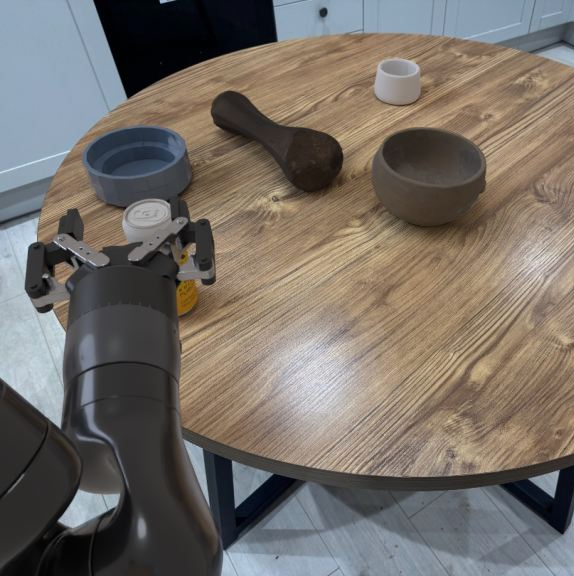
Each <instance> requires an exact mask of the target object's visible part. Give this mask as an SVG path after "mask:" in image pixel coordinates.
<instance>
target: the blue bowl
mask: <svg viewBox="0 0 574 576" xmlns="http://www.w3.org/2000/svg"><path fill="white" fill-rule="evenodd" d="M81 164H82V166H83V168H84V169H83V170H84V172H85V174H86V177H87V179H88V182H89V185H90V188H91V190H92V192H93V193H94V194H95V195H96V197H97V198H98V199H100V200H101V201H103V202H105V203H106V204H109V205H113V206H117V207H122V208H123V207H124V208H128V207H129V206H130V205H132V204H133V203H136V202H138V201H141V200H145V199H160V200H164V201H168V200H170V196H174V195H179V194H181V193H182V192H183V191H184V190H185V189H186V188H187V187H188V186H189V185H190V183H191V181H192V177H193V170H192V167H191V162H190V157H189V152H188V148H187V143H186V140H185V138H183V136H182V135H181V134H179V132H177V131H175V130H173V129H170V128H168V127H165V126H164V127H163V126H159V125H148V124H147V125H146V124H145V125H143V124H140V125H131V126H124V127H120V128H116V129H112V130H110V131H108V132H105V133H103V134H101V135H98V136H97V137H95V138H94V139H93V140H92V141H91V142H89V143H88V144H87V145H86V146H85V148H84V150H83V151H82V153H81Z"/></svg>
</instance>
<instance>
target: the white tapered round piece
mask: <svg viewBox="0 0 574 576" xmlns="http://www.w3.org/2000/svg"><path fill="white" fill-rule="evenodd" d="M373 89H374V90H373V91H374V95H375V96H376V98H377V99H378V100H380V101H381V102H383V103H385V104H389V105H395V106H402V105H403V106H405V105H409V104H413V103H414V102H416V101H417V100H418V99H419V98H420V96H421V91H422V90H421V89H422V87H421V68H420V66H419V65H418V63H416V62H414V61H413V60H409V59H406V58H389V59H385V60H383V61H381V62H379V63H378V65H377V69H376V75H375V81H374V88H373Z"/></svg>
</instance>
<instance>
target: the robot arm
mask: <svg viewBox="0 0 574 576" xmlns="http://www.w3.org/2000/svg"><path fill="white" fill-rule="evenodd" d="M169 204H170V210H171V220H172V223H171V224H169V225H168V226H167V227H166V228H165V229H164V230H162V229H158V230H157V231H156V232H155V233H154V234H153V235H152V236H151V237H150V238H149V239H148V240H147V241H146V242H144V243H143V241H141V242H134V243H130V244H128V243H126V244H123V245H107V246H102V249H101V250H96V249H94V248H93V247H92V246H90V245H89V244H87V243H86V242H84V234H85V233H84V232H85V224H84V221H83V218H82V216H81V214H80V211H79V209H78V208H77V207H75V208H69V209H68V208H67V210H66V214H65V215H62V216H61V217H60V218H59V221H58V228H57V233H56V235H55V236H54V237H53V239H52V241H50V242H48V243H44V242H43V241H35V242H33V243H30V244H29V245H28V247H27V255H26V264H25V265H26V266H25V278H24V288H23V289H24V291H25V292H26V295H27V296H28V298H29V300H30V302H31V303H32V305H33V306H34V309H35V310H36V312H37V313H38V314H47V313H49V312H51V311H52V310H53V309H54V307H55V304H56V303H61V302H65V301H66V302H67V301H69V302H68V309H67V319H66V327H65V328H66V329H65V337H64V340H65V341H64V348H63V357H62V371H61V372H62V383H63V400H62V410H61V419H60V420H61V421H60V427H59V425H57V424H56V423H54V421H52V420H51V419H50V418H49V417H48V416H45V414H44V413H42V412H41V410H39V409H38V408H37V407H35V406H34V405H33V404H32V403H31V402H30V401H29V400H28V399H27V398H25V397H24V396H23V395H22V394H20V393H19V392H18V391H17V390H16V389H15V388H13V387H12V386H11V385H10V384H9V383H8V382H7V381H5V380H4V379H3V378H1V377H0V576H222V573H223V565H224V545H223V540H222V535H221V532H220V529H219V526H218V524H217V521H216V519H215V517H214V514H213V511H212V510H211V507H210V505H209V502H208V501H207V498H206V496H205V494H204V491H203V489H202V487H201V484H200V482H199V479H198V476H197V473H196V471H195V468H194V465H193V462H192V461H191V458H190V455H189V452H188V449H187V446H186V443H185V439H184V436H183V429H182V427H183V426H182V410H181V396H180V380H181V372H182V354H183V344H182V341H181V338H180V337H181V336H180V323H179V316H178V308H177V289H178V287H179V286H180V284H181V282H182V281H186V280H200V282H201V284H202V285H203V286H208V287H209V286H213V285H214V284H215V283H216V281H217V270H216V246H215V239H214V235H213V230H212V226H211V221H210V220H209V219H208V218H204V217H203V218H199V219H197V220H196V221H192V220H191V215H190V210H189V206H188V202H187V201H186V200H185V199H180V198H179V194H177V195H174V196H170V199H169ZM177 238H178V239H177ZM176 239H177V240H176ZM193 244H195V250H192V251H190V253H189V254H190V256H188V257H189V258H188V259H187V262H186V263H185V264H183V265H180V266H179V265H178V264H179V263H180V260H181V256H182V254H183V253H184V252H185V251H186V250H187V251H188V249H189V248H190V247H191V246H192V245H193ZM160 249H161V251H159V250H160ZM62 263H63V264H65V265H66V266H67V267H69V268H70V269H71V270H73V272H72V274H71V275H69V276H68V278H67V279H66V280H65V282H64V283H60V281H59V280H58V278H57V277H56V265H60V264H62ZM79 491H82V492H84V493H89V494H92V495H102V496H103V495H104V496H105V495H106V496H107V495H119V496H118V501H117V505H115V506H114V507H111V508H110V509H107V510H106V511H104V512H102V513H100V514H98V515H96V516H94V517H92V518H89V520H87V521H85V522H83V523H80V524H79V525H77V526H75V527H72V526H69V525H66V524H64V523H62V522H61V521H59V520H60V519H61V518H62V517H63V515H64V514H65V513H66V511H68V509H69V508H70V506H71V505H72V503H73V501H74V500H75V498H76V496H77V494H78V492H79Z"/></svg>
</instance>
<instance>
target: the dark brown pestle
mask: <svg viewBox="0 0 574 576" xmlns="http://www.w3.org/2000/svg"><path fill="white" fill-rule="evenodd" d="M210 116H211V118H212V122H213V124H214V126H216V127H217V128H219V129H221V130H222V131H226V132H229V133H233V134H238V135H241V136H243V137H246V138H249V139H251V140H252V141H254V142H256V143H258V144H259V145H261V146H262V147H263V149H265V150H266V151H267V152H268V153H269V154H270V156H272V158H273V159H274V160H275V162H276V163H277V165H278V166H279V168H280V170H281V172H282V173H283V174H284V176H285V178H286V179H287V180H288V182H289V183H291V185H292V186H294V188H296V189H297V190H299V191H303V192H313V191H317V190H319V189H322V188H324V187H326V186H328V185H329V184H331V182H333V181H334V180H336V178H337V177H338V176H339V174H340V172H341V171H342V169H343V168H342V167H343V163H344V152H343V147H342V146H341V143H340V142H339V141H338V140H337V138H335V137H333V136H332V135H331V134H329V133H326V132H324V131H320V130H317V129H313V128H310V127H303V126H289V125H283V124H279V123H277V122H275V121H273V120H272V119H271V118H269V117H268V116H266V115H265V114H264V113H263V112H261V110H259V109H258V108H257V107H256V106H255V104H254V103H253V102H252V101H251V100H250V99H249V98H248V97H247V96H246V95H245V94H242V93H241V92H238V91H235V90H233V89H232V90H230V89H229V90H224V91H222V92H220V93H219V94H218V95H217V96H216V97H215V98H214V99H213V100H212V102H211V107H210Z"/></svg>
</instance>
